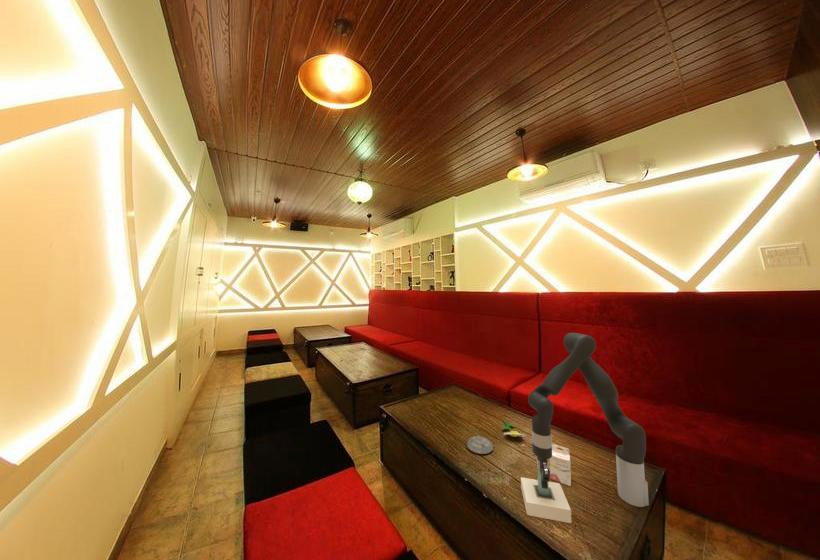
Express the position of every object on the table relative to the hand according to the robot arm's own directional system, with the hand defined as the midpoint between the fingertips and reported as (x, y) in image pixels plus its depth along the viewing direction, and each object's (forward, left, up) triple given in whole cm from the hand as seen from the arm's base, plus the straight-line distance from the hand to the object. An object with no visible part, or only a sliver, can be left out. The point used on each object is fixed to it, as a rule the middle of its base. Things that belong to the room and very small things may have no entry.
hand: (543, 483), depth 107 cm
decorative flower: (+7, -56, -9) cm, 57 cm away
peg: (0, 0, -4) cm, 4 cm away
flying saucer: (+26, -34, -9) cm, 44 cm away
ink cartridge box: (-11, -17, -9) cm, 22 cm away
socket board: (0, 0, -9) cm, 9 cm away
